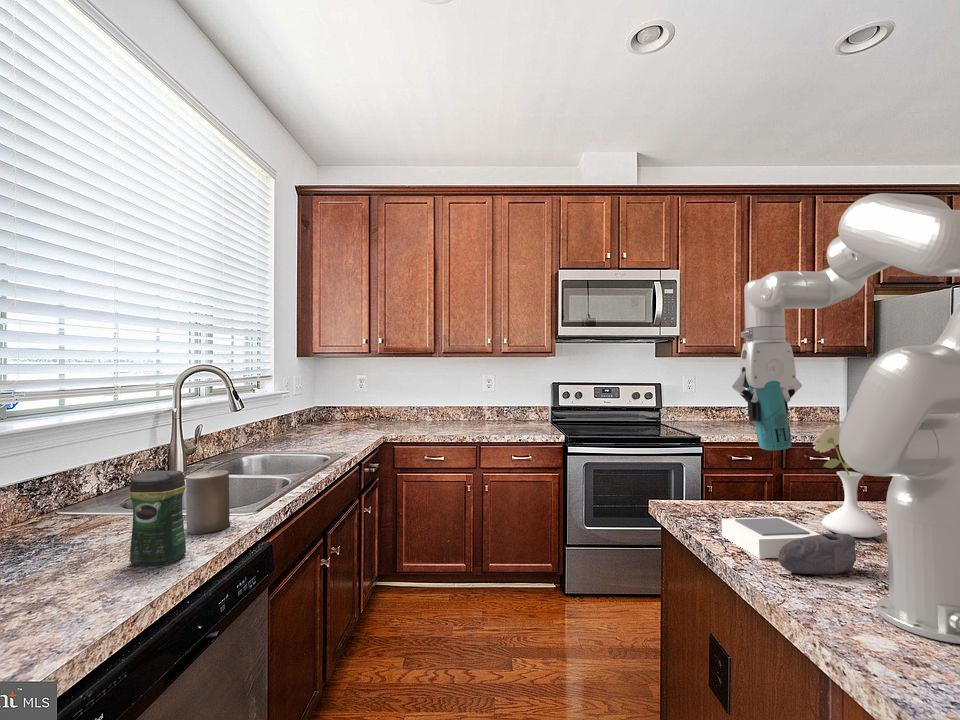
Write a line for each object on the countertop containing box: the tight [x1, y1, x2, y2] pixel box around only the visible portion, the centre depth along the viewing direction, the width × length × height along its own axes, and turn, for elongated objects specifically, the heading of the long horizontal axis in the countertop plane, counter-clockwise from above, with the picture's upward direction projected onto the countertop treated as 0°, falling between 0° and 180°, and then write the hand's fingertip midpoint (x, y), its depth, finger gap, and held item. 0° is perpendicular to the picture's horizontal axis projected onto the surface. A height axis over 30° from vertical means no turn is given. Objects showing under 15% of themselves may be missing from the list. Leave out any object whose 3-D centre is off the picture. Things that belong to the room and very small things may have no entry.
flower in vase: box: [812, 424, 884, 539], centre depth 114 cm, size 13×11×25 cm
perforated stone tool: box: [778, 533, 857, 576], centre depth 93 cm, size 15×5×7 cm, turn 91°
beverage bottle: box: [749, 381, 792, 451], centre depth 108 cm, size 6×7×20 cm
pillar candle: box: [185, 468, 231, 535], centre depth 126 cm, size 10×10×15 cm
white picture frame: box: [721, 516, 820, 560], centre depth 107 cm, size 14×14×4 cm
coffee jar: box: [129, 470, 187, 566], centre depth 105 cm, size 10×8×19 cm
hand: (768, 419), depth 108 cm, fingers closed on beverage bottle, 5 cm apart
